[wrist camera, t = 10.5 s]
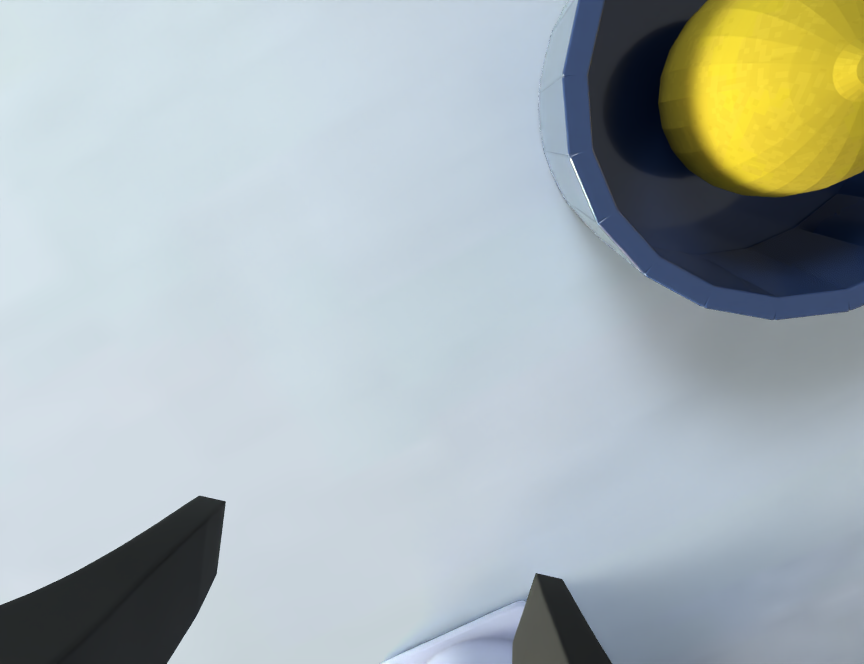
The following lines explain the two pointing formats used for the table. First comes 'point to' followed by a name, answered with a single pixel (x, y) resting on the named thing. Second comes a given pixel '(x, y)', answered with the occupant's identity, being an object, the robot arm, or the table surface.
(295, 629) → the table surface
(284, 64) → the table surface
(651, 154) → the blue mug
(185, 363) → the table surface
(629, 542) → the table surface
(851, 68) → the lemon
